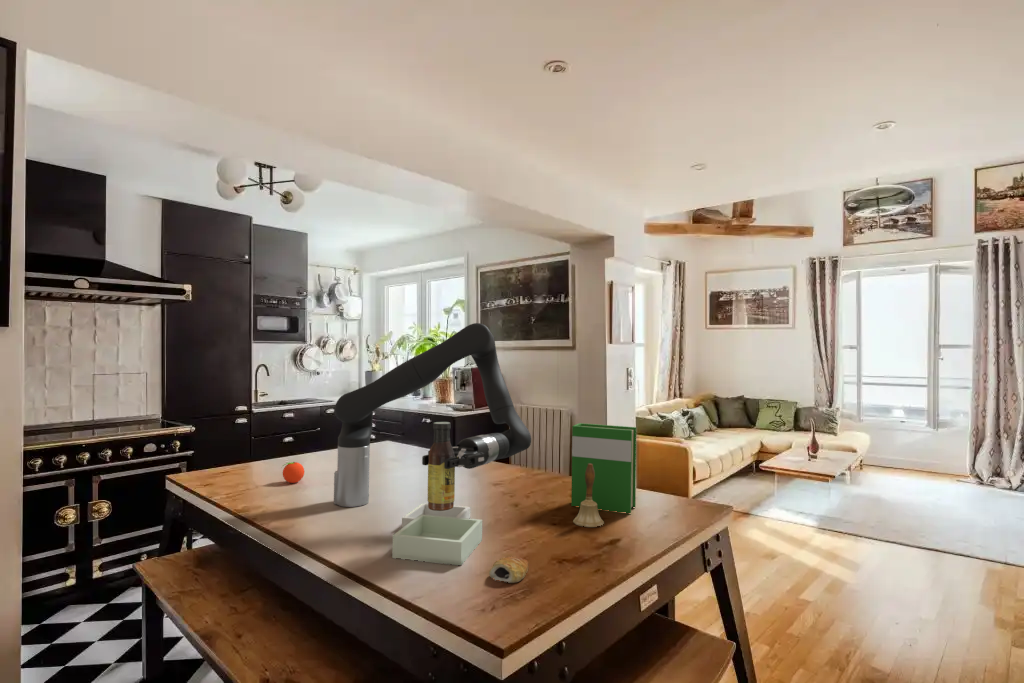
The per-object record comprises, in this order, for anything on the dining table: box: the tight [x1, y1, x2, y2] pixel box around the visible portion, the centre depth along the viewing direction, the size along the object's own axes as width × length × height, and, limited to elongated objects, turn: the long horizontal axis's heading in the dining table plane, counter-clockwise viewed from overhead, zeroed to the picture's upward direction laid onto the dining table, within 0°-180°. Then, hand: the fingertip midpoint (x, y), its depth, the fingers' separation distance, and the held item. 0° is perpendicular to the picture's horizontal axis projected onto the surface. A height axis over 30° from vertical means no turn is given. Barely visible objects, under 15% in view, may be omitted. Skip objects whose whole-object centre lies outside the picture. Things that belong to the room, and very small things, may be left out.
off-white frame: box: [401, 502, 471, 529], centre depth 144 cm, size 14×14×3 cm
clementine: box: [282, 461, 305, 484], centre depth 184 cm, size 8×7×7 cm
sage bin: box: [391, 514, 483, 566], centre depth 126 cm, size 16×16×5 cm
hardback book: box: [570, 422, 637, 514], centre depth 162 cm, size 18×7×24 cm, turn 66°
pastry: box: [488, 556, 530, 584], centre depth 112 cm, size 9×7×4 cm
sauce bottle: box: [427, 421, 456, 511], centre depth 126 cm, size 7×6×20 cm
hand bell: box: [572, 463, 605, 528], centre depth 147 cm, size 8×8×16 cm
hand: (434, 462), depth 124 cm, fingers closed on sauce bottle, 6 cm apart
